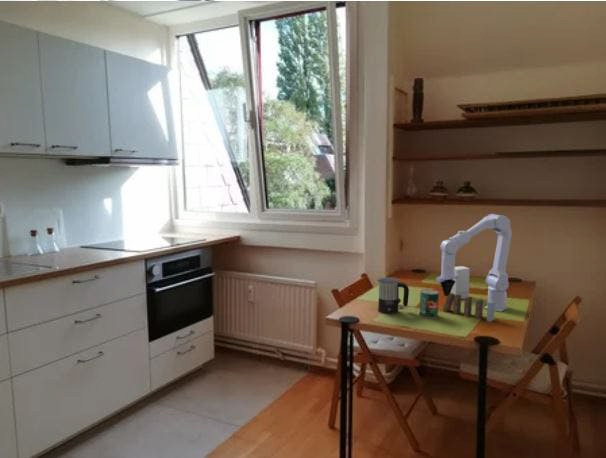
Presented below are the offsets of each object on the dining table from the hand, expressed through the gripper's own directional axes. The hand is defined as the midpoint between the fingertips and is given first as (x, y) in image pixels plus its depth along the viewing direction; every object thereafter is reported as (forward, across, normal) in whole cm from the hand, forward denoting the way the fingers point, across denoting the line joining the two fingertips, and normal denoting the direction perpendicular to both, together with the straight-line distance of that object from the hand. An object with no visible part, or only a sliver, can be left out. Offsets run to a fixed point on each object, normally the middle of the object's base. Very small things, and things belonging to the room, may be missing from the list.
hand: (446, 295), depth 207 cm
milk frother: (+7, -19, +18) cm, 27 cm away
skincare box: (+7, +24, +10) cm, 27 cm away
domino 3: (+7, +2, -10) cm, 12 cm away
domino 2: (+7, +1, -5) cm, 9 cm away
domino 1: (+7, 0, 0) cm, 7 cm away
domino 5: (+7, +3, -20) cm, 21 cm away
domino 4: (+7, +2, -15) cm, 17 cm away
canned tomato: (+7, -13, 0) cm, 15 cm away
